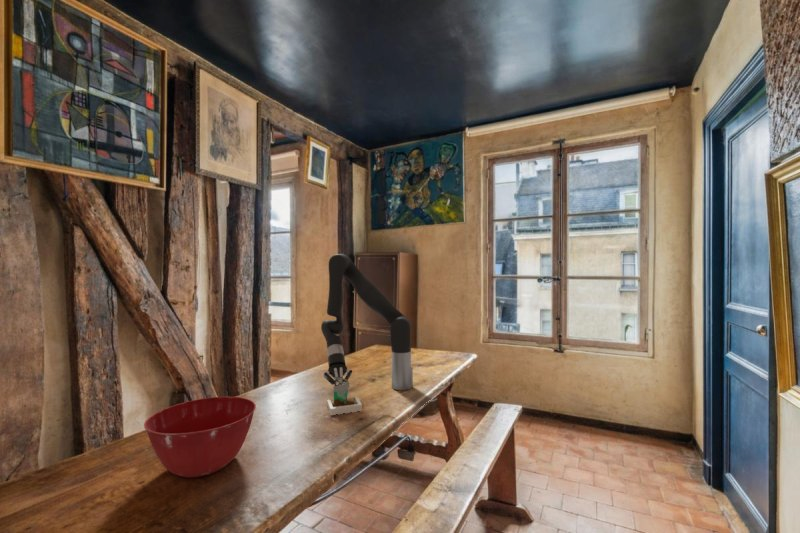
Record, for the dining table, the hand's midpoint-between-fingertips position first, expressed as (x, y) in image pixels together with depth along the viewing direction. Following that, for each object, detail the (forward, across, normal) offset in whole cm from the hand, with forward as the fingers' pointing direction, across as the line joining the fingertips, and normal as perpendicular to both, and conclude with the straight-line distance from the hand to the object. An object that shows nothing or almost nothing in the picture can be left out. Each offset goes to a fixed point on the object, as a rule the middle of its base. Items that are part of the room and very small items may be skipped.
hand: (340, 392), depth 158 cm
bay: (+9, 0, -3) cm, 9 cm away
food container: (+7, 0, -1) cm, 7 cm away
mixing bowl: (+29, -46, -24) cm, 59 cm away
